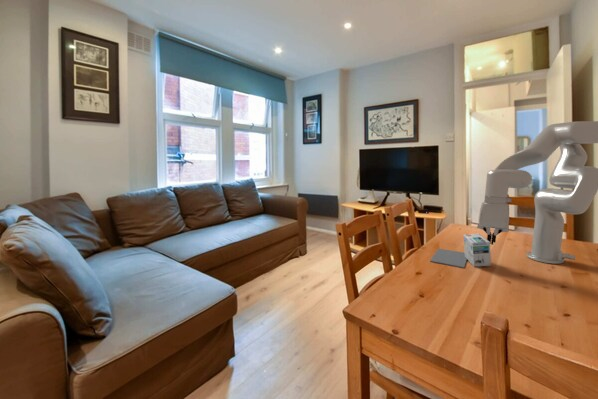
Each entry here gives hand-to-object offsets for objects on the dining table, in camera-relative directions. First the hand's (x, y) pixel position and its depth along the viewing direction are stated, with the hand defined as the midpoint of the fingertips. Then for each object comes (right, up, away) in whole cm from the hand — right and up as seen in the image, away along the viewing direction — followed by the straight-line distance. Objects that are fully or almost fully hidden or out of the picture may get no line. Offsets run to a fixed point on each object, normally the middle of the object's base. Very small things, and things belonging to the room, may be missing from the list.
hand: (490, 243), depth 115 cm
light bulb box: (-3, -9, +4) cm, 10 cm away
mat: (-11, -8, +10) cm, 18 cm away
